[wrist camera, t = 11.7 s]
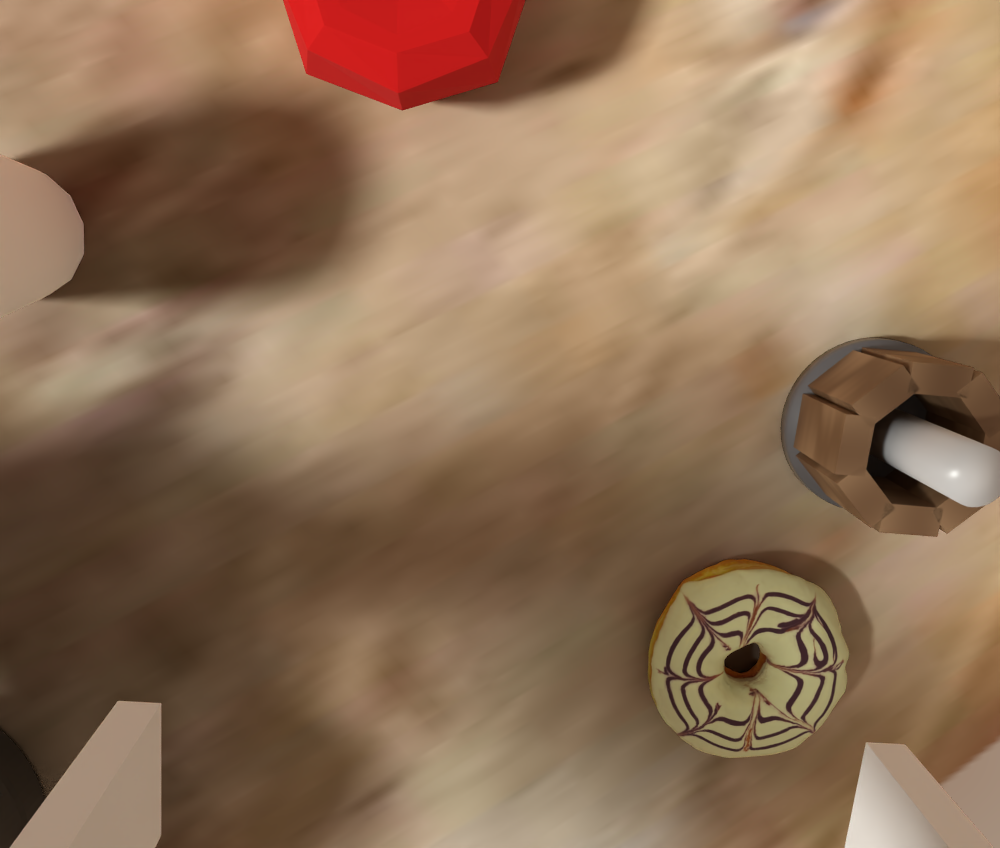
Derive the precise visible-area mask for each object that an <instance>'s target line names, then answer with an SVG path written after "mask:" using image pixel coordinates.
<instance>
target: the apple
mask: <svg viewBox="0 0 1000 848" xmlns="http://www.w3.org/2000/svg"><path fill="white" fill-rule="evenodd" d="M283 1H284V5H285V8H286V11H287V14H288V17H289V20H290V24H291V27H292V30H293V33H294V36H295V39H296V43H297V46H298V49H299V52H300V55H301V58H302V61H303V65H304V68H305V71H306V74H308V75H311V76H314V77H316V78H319V79H321V80H324V81H327V82H329V83H332V84H334V85H337V86H340V87H342V88H345V89H348V90H350V91H353V92H355V93H358V94H361V95H363V96H366V97H369V98H371V99H374V100H376V101H379V102H382V103H384V104H387V105H389V106H392V107H395V108H397V109H400V110H405V109H409V108H412V107H416V106H419V105H422V104H426V103H429V102H432V101H436V100H439V99H442V98H446V97H449V96H452V95H456V94H459V93H463V92H466V91H469V90H473V89H476V88H479V87H483V86H486V85H489V84H493V83H496V82H498V80H499V77H500V74H501V71H502V68H503V65H504V62H505V59H506V56H507V54H508V51H509V48H510V45H511V42H512V39H513V36H514V33H515V30H516V27H517V24H518V21H519V18H520V15H521V12H522V9H523V6H524V3H525V0H283Z"/></svg>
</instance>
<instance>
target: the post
mask: <svg viewBox="0 0 1000 848" xmlns="http://www.w3.org/2000/svg"><path fill="white" fill-rule="evenodd" d="M862 347H865V348H876V349H887V350H898V351H909V352H917V353H921V354H925V355H929V356H931V355H930V354H928V353H927V352H925V351H924V350H922V349H920V348H918V347H916V346H913V345H910V344H907V343H904V342H900V341H896V340H892V339H886V338H863V339H857V340H853V341H849V342H846V343H843V344H841V345H838V346H836V347H834V348H832V349H830V350H828V351H826V352H825V353H824V354H822V355H821V356H819V357H818V358H816V359H815V360H814V361H813V362H812V363H811V364H810V365H809V366H808V367H807V368H806V369H805V370H804V371H803V372H802V374H801V375H800V376H799V378H798V379H797V380H796V382H795V383H794V385H793V387H792V389H791V391H790V393H789V395H788V397H787V400H786V403H785V405H784V409H783V414H782V420H781V440H782V446H783V451H784V454H785V457H786V460H787V462H788V464H789V466H790V468H791V470H792V471H793V472H794V474H795V475H796V477H797V478H798V479H799V480H800V481H801V482H802V484H803V485H805V486H806V487H807V488H808V489H809V490H811V491H812V492H813V493H815V494H816V495H817V496H819V497H820V498H822V499H823V500H825V501H827V502H829V503H831V504H833V505H836V506H838V507H842V506H840V505H839V504H838V503H836V502H835V501H833V500H832V499H831V498H829V497H828V496H827V495H826V494H825V493H824V492H823V491H822V489H821V488H820V487H819V485H818V484H817V483H816V481H815V480H814V479H813V478H812V476H811V475H810V474H809V472H808V471H807V470H806V468H805V467H804V466H803V465H802V463H801V462H800V461H799V459H798V458H797V457H796V455H797V454H798V453H799V452H800V451H799V450H797V449H796V448H794V447H793V446H794V441H795V435H796V429H797V424H798V418H799V412H800V406H801V401H802V395H803V394H813V395H815V394H814V393H813V392H812V390H811V389H810V388H809V386H808V385H809V384H810V383H812V382H813V381H814V380H815V379H817V378H818V377H819V376H821V375H822V374H823V373H824V372H826V371H827V370H828V369H829V368H831V367H832V366H833V365H835V364H836V363H837V362H838V361H840V360H841V359H842V358H844V357H845V356H846V355H847V354H849V353H850V352H851V351H852V350H854V351H858V352H861V350H862ZM932 357H933V356H932ZM926 413H927V410H926V409H925V407H924V406H923V404H922V403H921V402H920V400H919V399H918V398H917V396H916V395H915V394H913V395H912V396H911V397H909V398H908V399H907V400H906V401H904V402H903V403H902V404H900V405H899V406H898V407H896V408H895V409H894V410H893V411H891V412H890V413H889V414H887V415H886V416H885V417H883V418H882V419H881V420H880V421H878V422H877V423H876V424H875V426H874V431H873V437H872V442H871V447H870V452H869V457H868V462H867V467H866V470H867V472H868V473H869V474H870V476H877V477H885V476H887V475H888V474H889V473H890V472H892V471H893V470H894V469H898V470H899V471H901V472H903V473H905V474H907V475H909V476H910V477H912V478H914V479H916V480H918V481H920V482H921V483H923V484H925V485H927V486H929V487H931V488H932V489H934V490H936V491H938V492H940V493H941V494H943V495H945V496H947V497H949V498H951V499H952V500H954V501H956V502H958V503H960V504H962V505H964V506H967V507H981V506H984V505H987V504H989V503H991V502H993V501H994V500H996V499H997V498H998V497H999V496H1000V452H999V451H998V450H996V449H994V448H992V447H989V446H987V445H984V444H982V443H980V442H977V441H975V440H972V439H970V438H967V437H965V436H962V435H960V434H957V433H955V432H953V431H950V430H948V429H945V428H943V427H940V426H938V425H935V424H933V423H931V422H928V421H926V420H925V418H926ZM842 508H843V507H842Z"/></svg>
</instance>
